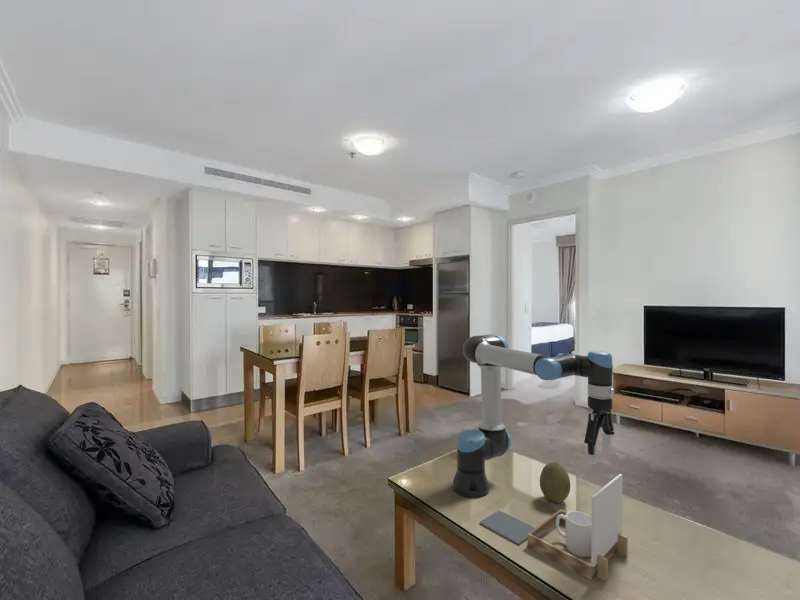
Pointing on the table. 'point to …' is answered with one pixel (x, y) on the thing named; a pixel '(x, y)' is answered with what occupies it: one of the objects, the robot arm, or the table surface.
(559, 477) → the fruit
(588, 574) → the frame
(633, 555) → the table surface
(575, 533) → the cup
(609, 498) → the lid
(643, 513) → the table surface
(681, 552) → the table surface
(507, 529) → the mat
